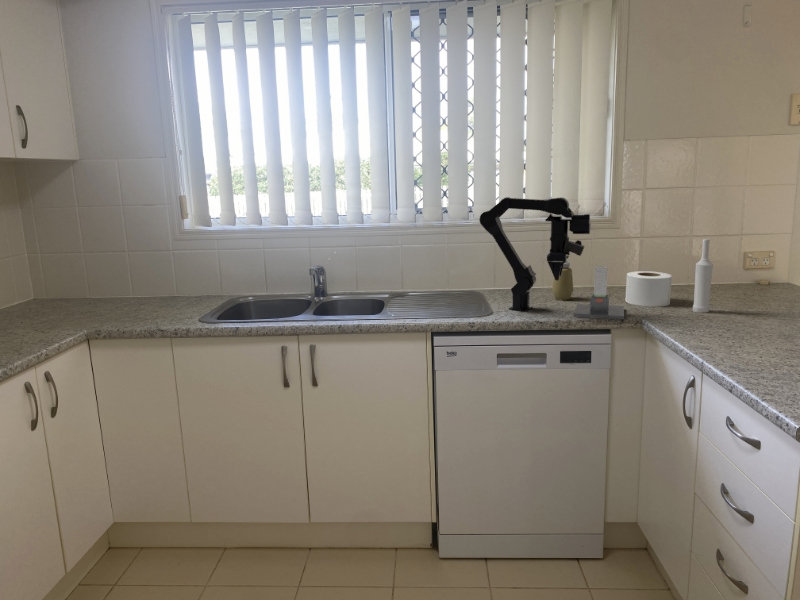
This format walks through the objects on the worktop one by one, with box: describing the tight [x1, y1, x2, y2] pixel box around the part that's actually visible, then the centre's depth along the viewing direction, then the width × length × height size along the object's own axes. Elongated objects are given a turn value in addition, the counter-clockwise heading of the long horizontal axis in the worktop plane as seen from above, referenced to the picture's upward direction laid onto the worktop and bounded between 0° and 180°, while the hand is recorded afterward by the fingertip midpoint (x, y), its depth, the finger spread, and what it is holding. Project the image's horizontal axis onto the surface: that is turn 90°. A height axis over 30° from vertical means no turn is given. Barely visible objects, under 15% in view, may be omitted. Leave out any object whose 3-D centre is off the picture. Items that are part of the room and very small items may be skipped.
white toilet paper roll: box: [625, 270, 673, 308], centre depth 217 cm, size 16×15×11 cm
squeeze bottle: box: [551, 259, 574, 301], centre depth 226 cm, size 8×8×18 cm
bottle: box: [692, 238, 714, 314], centre depth 199 cm, size 5×5×25 cm
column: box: [593, 265, 608, 298], centre depth 201 cm, size 4×4×11 cm
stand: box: [573, 293, 625, 320], centre depth 202 cm, size 16×16×6 cm
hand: (558, 278), depth 205 cm, fingers open, 9 cm apart
